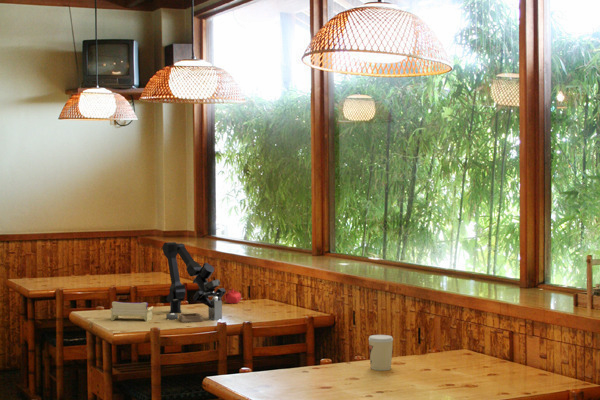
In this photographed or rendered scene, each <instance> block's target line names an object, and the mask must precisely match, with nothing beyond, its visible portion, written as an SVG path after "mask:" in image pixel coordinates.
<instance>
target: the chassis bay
mask: <svg viewBox="0 0 600 400" xmlns="http://www.w3.org/2000/svg"><path fill="white" fill-rule="evenodd" d="M178 321H180V322H181V323H183V324H187V323H200V322H201V323H202V322H203V315H202V314H200V313H198V312H193V313H192V312H191V313H190V312H189V313H178Z"/></svg>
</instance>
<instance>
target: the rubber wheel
mask: <svg viewBox="0 0 600 400" xmlns="http://www.w3.org/2000/svg"><path fill="white" fill-rule="evenodd" d="M167 319H169V320H168V321H174V320H175V319H176V320H179V313H170V312H169V313H166V320H167Z"/></svg>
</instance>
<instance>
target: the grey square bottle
mask: <svg viewBox="0 0 600 400" xmlns="http://www.w3.org/2000/svg"><path fill="white" fill-rule="evenodd" d="M211 297H212V299H209V300H210V302H211V304H212V306H213V308H210V307H208V306H207V307H208V309H207V310H208V320H210V321H219V319H221V320H223V301H222V299H221V300H218V296H211Z"/></svg>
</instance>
